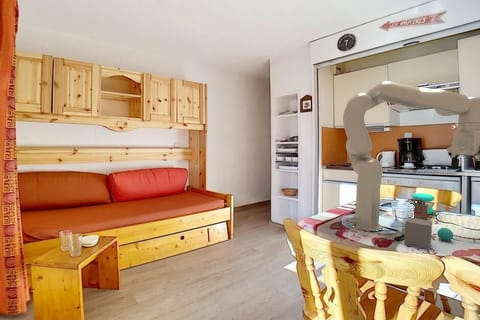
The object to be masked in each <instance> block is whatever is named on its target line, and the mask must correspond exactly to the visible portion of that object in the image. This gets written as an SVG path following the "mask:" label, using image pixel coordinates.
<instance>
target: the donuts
mask: <svg viewBox="0 0 480 320" xmlns="http://www.w3.org/2000/svg"><path fill="white" fill-rule="evenodd" d="M411 196H412V197H411V198H414V199H421V200H426V202H425V203H431V202H433V201H434V200H435V196H434V195H432V194H428V193H420V192H417V193H413V194H412V195H411ZM433 213H434V209H433V207H431V206H429V205H428V211H427V215H432V214H433Z"/></svg>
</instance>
